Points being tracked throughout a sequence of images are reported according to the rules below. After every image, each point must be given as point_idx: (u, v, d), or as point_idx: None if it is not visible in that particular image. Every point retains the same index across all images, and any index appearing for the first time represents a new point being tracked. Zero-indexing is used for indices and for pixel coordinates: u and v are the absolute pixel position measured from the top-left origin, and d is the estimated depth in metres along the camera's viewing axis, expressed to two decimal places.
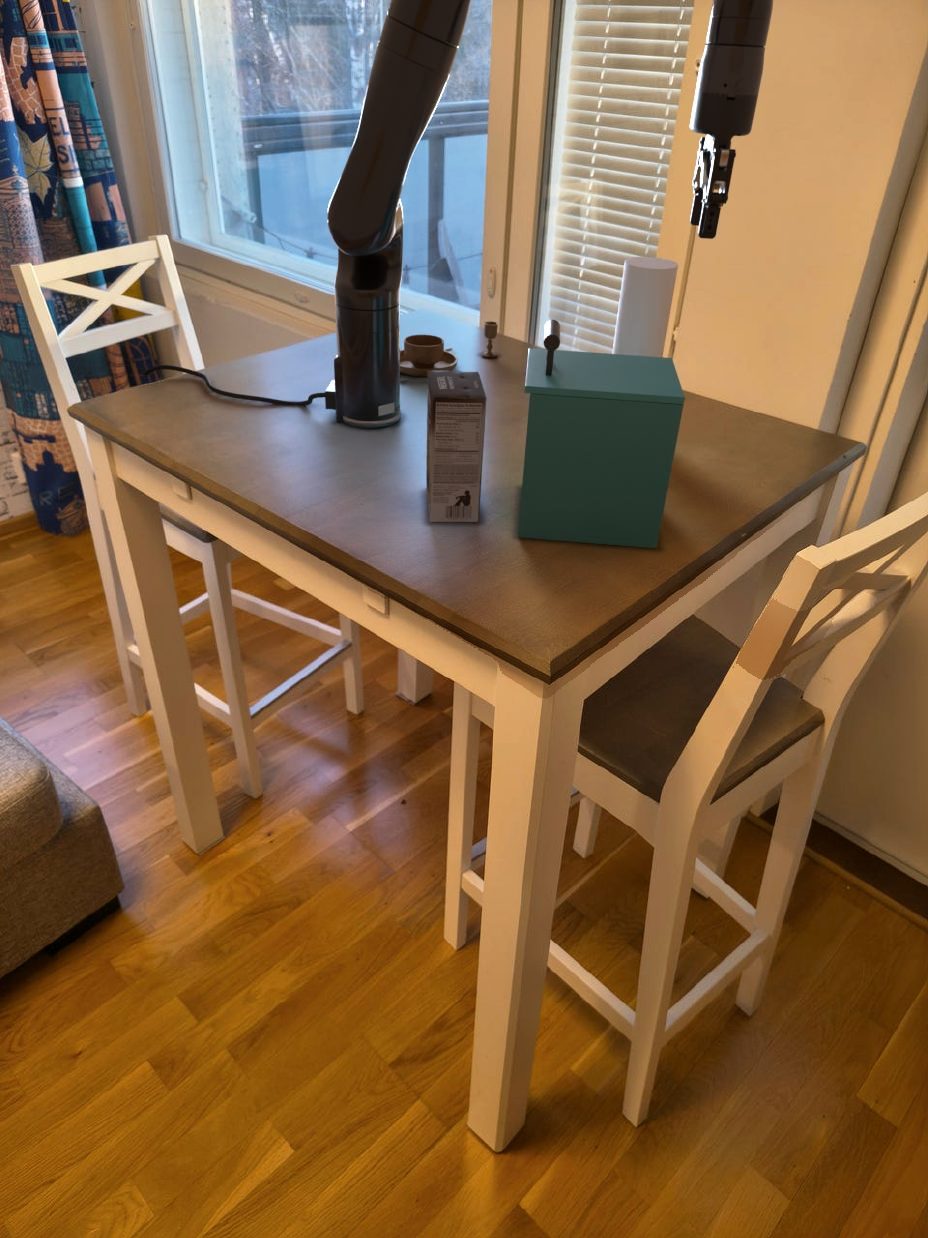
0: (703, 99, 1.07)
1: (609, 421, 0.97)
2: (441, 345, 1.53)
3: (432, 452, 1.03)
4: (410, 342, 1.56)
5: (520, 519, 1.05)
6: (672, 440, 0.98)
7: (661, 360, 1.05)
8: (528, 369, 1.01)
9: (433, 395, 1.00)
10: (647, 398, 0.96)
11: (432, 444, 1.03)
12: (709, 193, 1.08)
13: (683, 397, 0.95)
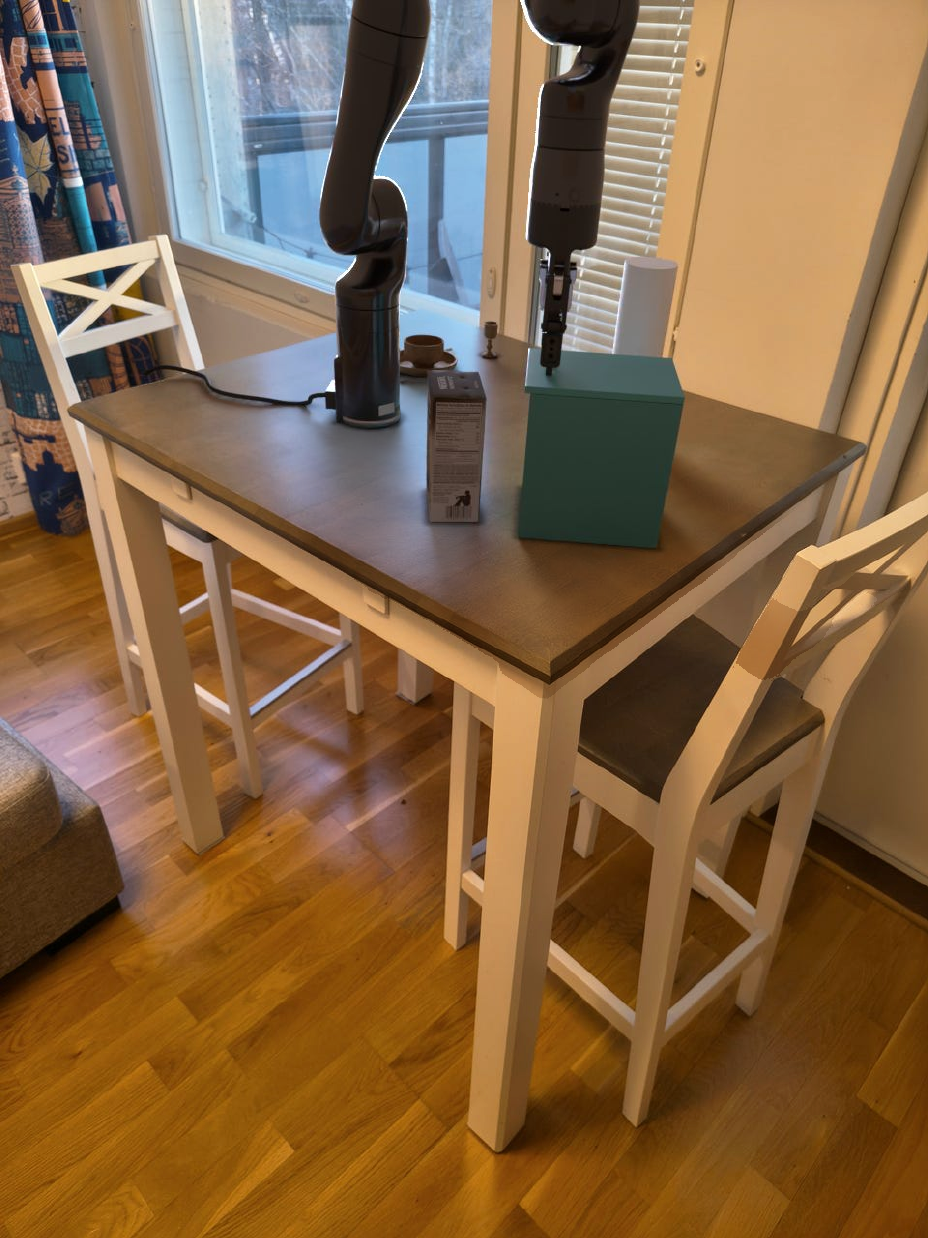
0: (535, 209, 0.90)
1: (609, 421, 0.97)
2: (441, 345, 1.53)
3: (432, 452, 1.03)
4: (410, 342, 1.56)
5: (520, 519, 1.05)
6: (672, 440, 0.98)
7: (661, 360, 1.05)
8: (528, 369, 1.01)
9: (433, 395, 1.00)
10: (647, 398, 0.96)
11: (432, 444, 1.03)
12: (544, 323, 0.93)
13: (683, 397, 0.95)
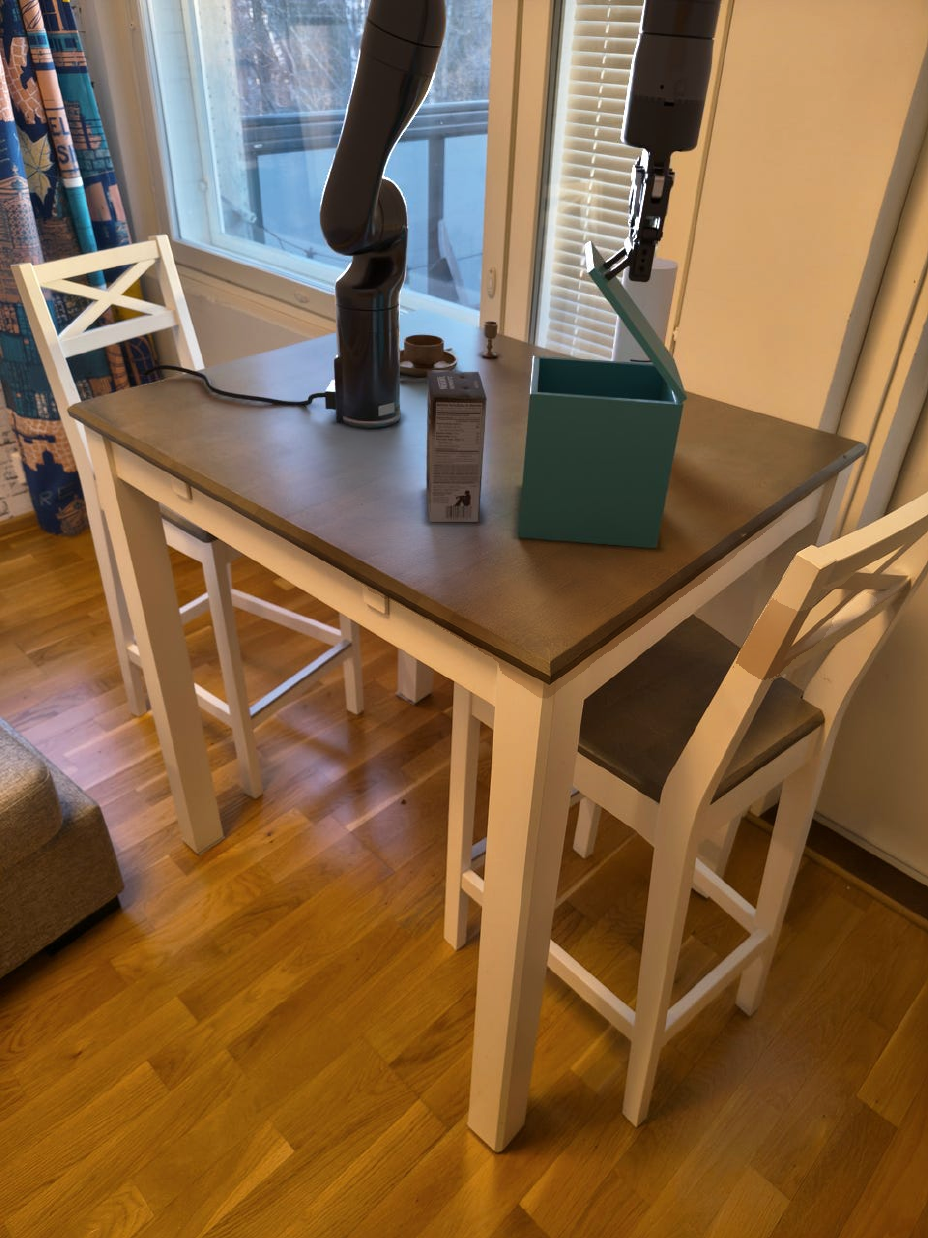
0: (635, 104, 0.84)
1: (609, 421, 0.97)
2: (441, 345, 1.53)
3: (432, 452, 1.03)
4: (410, 342, 1.56)
5: (520, 519, 1.05)
6: (672, 440, 0.98)
7: (669, 353, 1.05)
8: (593, 257, 0.93)
9: (433, 395, 1.00)
10: (663, 372, 0.94)
11: (432, 444, 1.03)
12: (639, 229, 0.87)
13: (686, 397, 0.95)
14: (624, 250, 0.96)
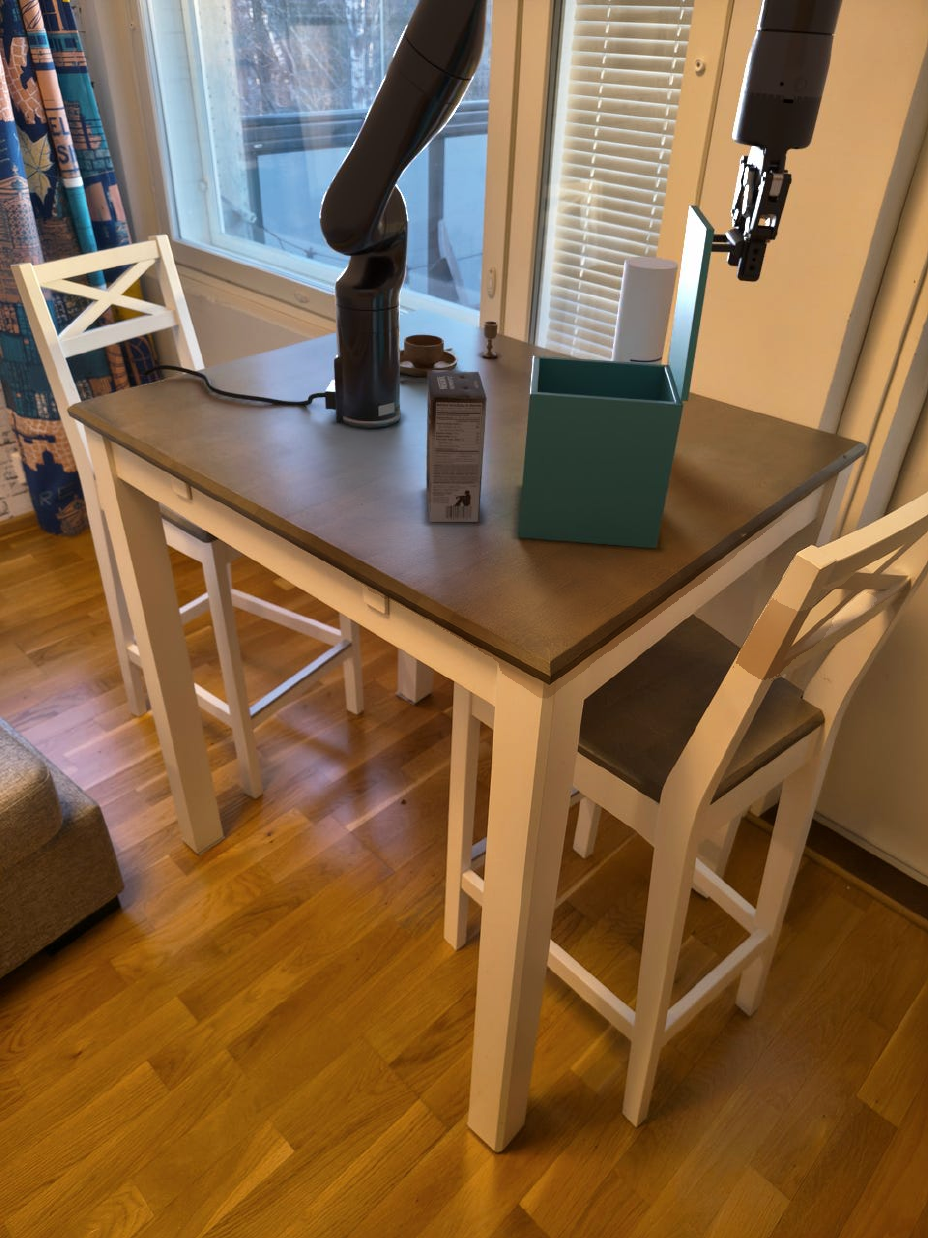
0: (752, 101, 0.83)
1: (609, 421, 0.97)
2: (441, 345, 1.53)
3: (432, 452, 1.03)
4: (410, 342, 1.56)
5: (520, 519, 1.05)
6: (672, 440, 0.98)
7: None
8: None
9: (433, 395, 1.00)
10: (689, 364, 0.93)
11: (432, 444, 1.03)
12: (754, 228, 0.86)
13: (687, 399, 0.95)
14: (724, 237, 0.94)
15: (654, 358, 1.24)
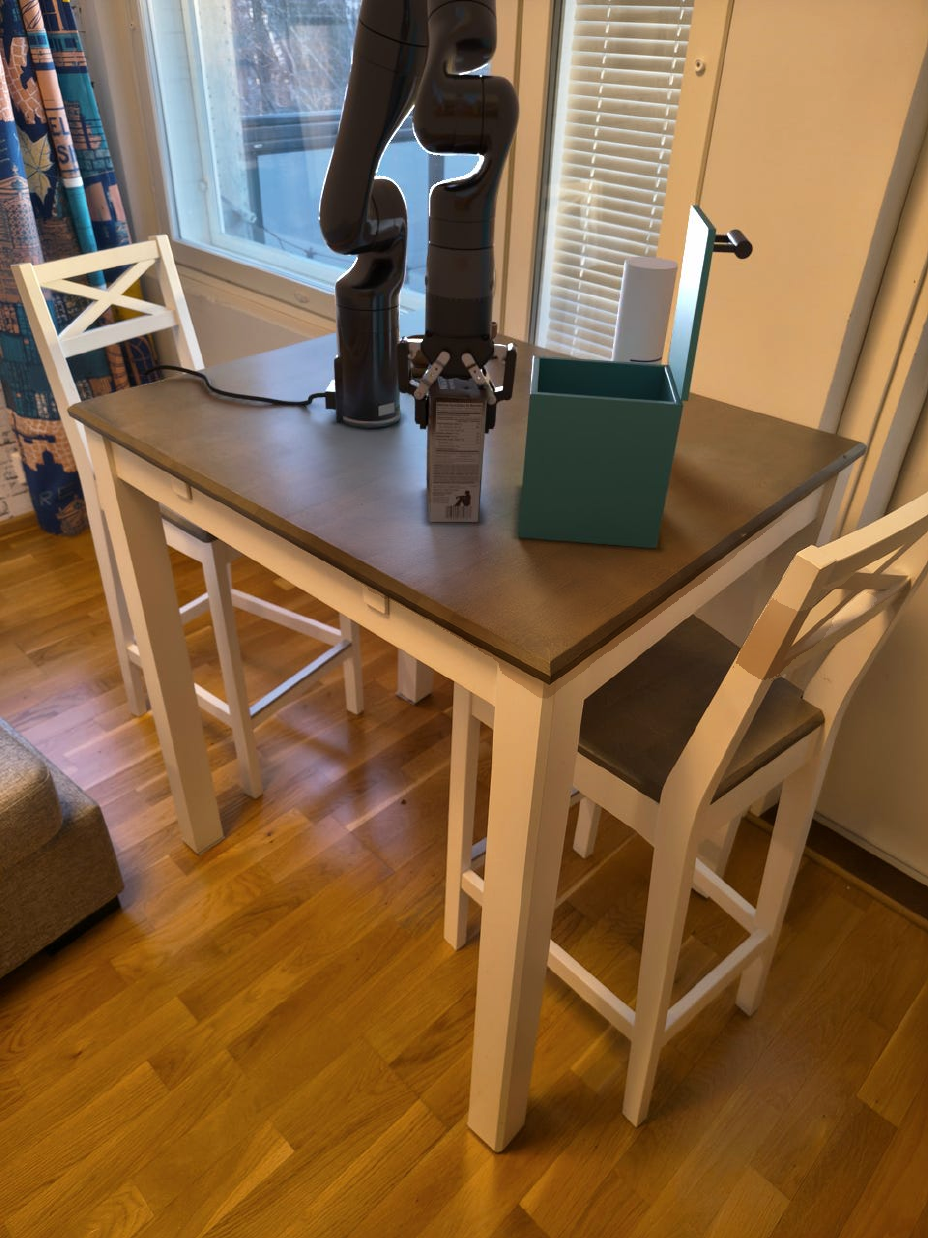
0: None
1: (609, 421, 0.97)
2: None
3: (432, 452, 1.03)
4: None
5: (520, 519, 1.05)
6: (672, 440, 0.98)
7: None
8: None
9: (433, 395, 1.00)
10: (690, 364, 0.93)
11: (432, 444, 1.03)
12: None
13: (687, 399, 0.95)
14: (725, 237, 0.94)
15: (654, 358, 1.24)
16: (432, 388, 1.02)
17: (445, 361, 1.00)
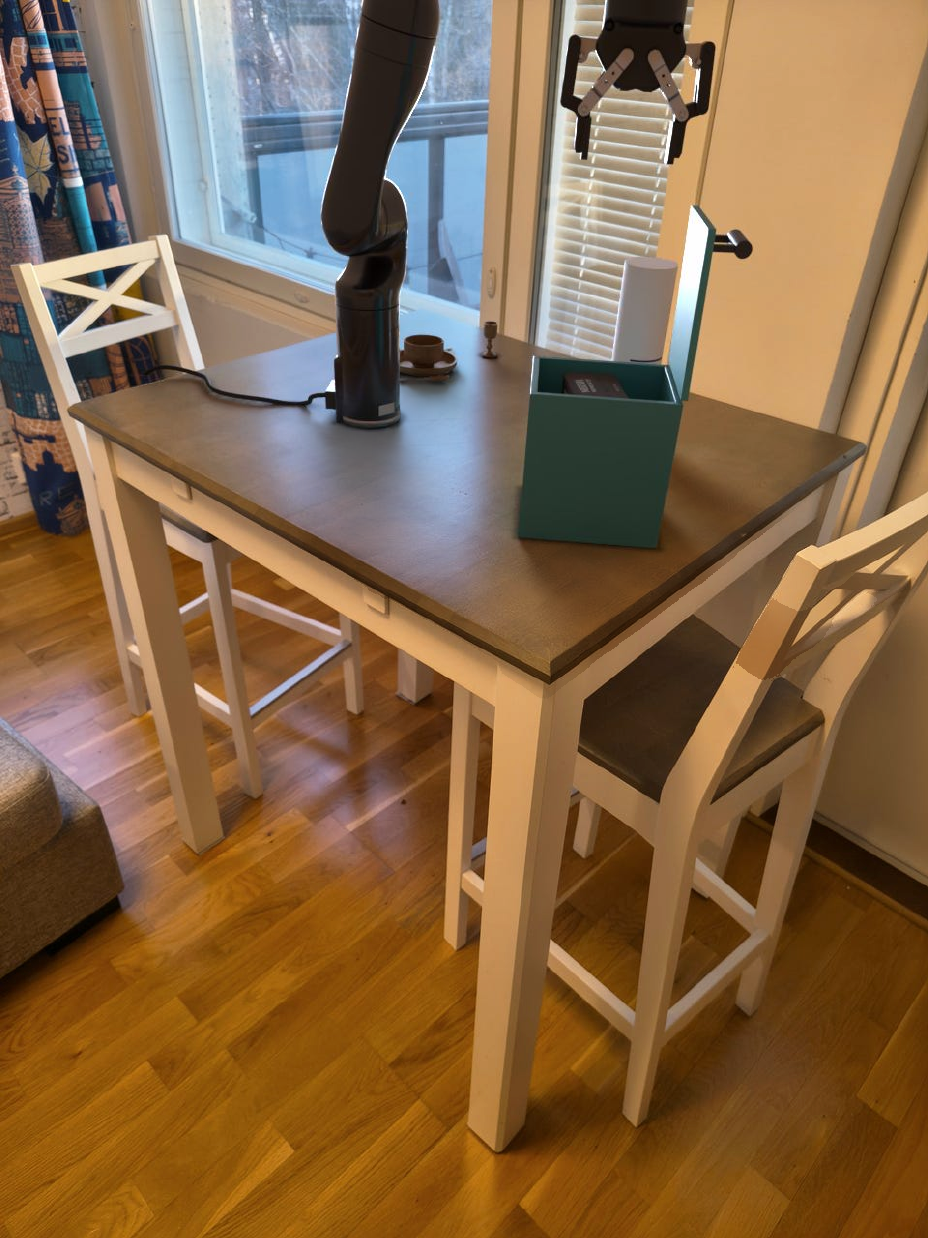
0: None
1: (609, 421, 0.97)
2: (441, 345, 1.53)
3: None
4: (410, 342, 1.56)
5: (520, 519, 1.05)
6: (672, 440, 0.98)
7: None
8: None
9: None
10: (690, 364, 0.93)
11: None
12: None
13: (687, 399, 0.95)
14: (725, 237, 0.94)
15: (654, 358, 1.24)
16: (573, 391, 1.01)
17: (627, 62, 0.83)
